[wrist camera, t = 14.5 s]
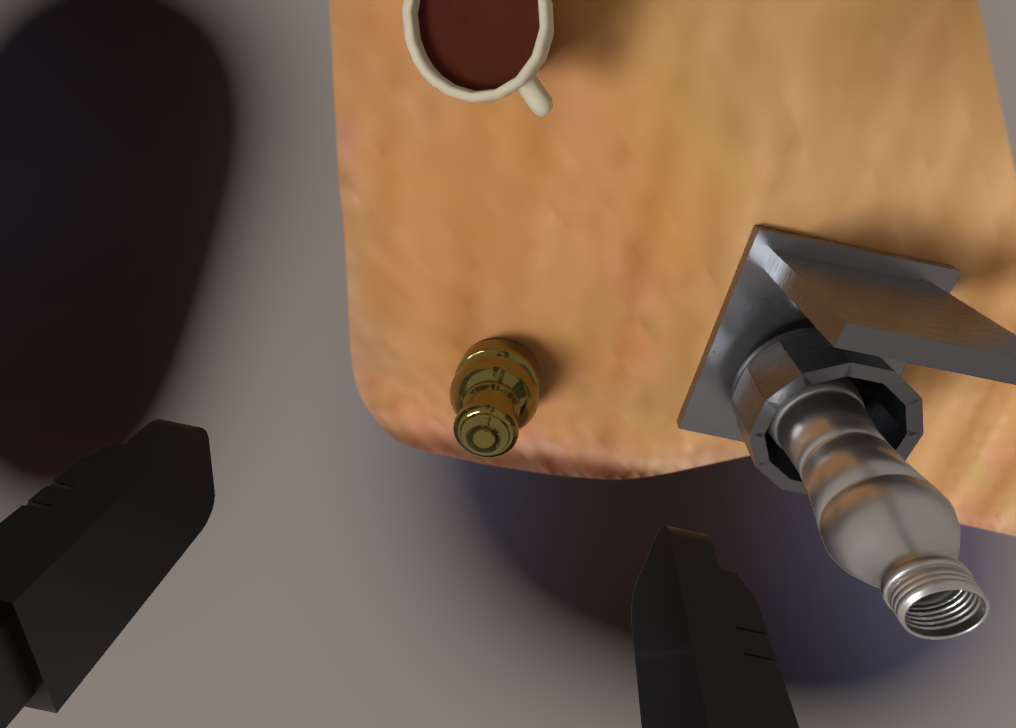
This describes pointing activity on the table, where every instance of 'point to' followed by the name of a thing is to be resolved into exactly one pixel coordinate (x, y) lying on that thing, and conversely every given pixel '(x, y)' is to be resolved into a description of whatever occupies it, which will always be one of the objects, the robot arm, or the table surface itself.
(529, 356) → the brass knob
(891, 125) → the table surface
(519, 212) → the table surface
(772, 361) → the cup bracket
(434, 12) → the character mug
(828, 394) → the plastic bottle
